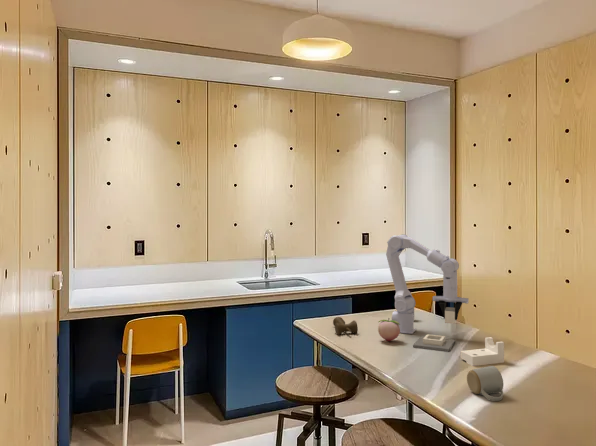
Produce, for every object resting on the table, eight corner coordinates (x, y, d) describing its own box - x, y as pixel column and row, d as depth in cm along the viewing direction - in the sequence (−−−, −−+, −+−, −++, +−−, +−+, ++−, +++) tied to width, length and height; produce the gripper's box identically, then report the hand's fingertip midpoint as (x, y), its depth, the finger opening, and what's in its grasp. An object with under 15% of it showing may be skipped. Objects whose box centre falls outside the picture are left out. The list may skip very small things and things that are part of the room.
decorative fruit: (376, 343, 192) (376, 319, 192) (378, 338, 200) (378, 315, 200) (400, 345, 190) (399, 320, 189) (401, 339, 198) (400, 316, 197)
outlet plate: (412, 347, 186) (412, 339, 186) (420, 338, 199) (420, 331, 199) (448, 351, 180) (448, 344, 180) (454, 342, 192) (454, 335, 192)
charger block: (445, 322, 197) (444, 308, 197) (446, 320, 201) (446, 307, 201) (454, 323, 195) (454, 309, 195) (456, 321, 199) (456, 307, 199)
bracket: (491, 357, 173) (491, 337, 173) (504, 363, 166) (504, 342, 166) (460, 360, 170) (460, 340, 170) (472, 366, 163) (472, 345, 163)
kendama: (347, 327, 223) (361, 336, 203) (328, 328, 221) (340, 339, 201) (347, 314, 223) (360, 323, 203) (327, 316, 221) (339, 325, 201)
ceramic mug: (465, 389, 142) (465, 364, 142) (488, 386, 144) (488, 362, 144) (485, 403, 132) (485, 377, 132) (511, 400, 134) (511, 374, 133)
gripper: (431, 287, 197) (431, 319, 198) (466, 289, 191) (467, 322, 191) (434, 285, 204) (434, 315, 204) (469, 287, 197) (469, 318, 197)
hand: (450, 318), depth 198 cm, fingers closed on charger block, 4 cm apart
